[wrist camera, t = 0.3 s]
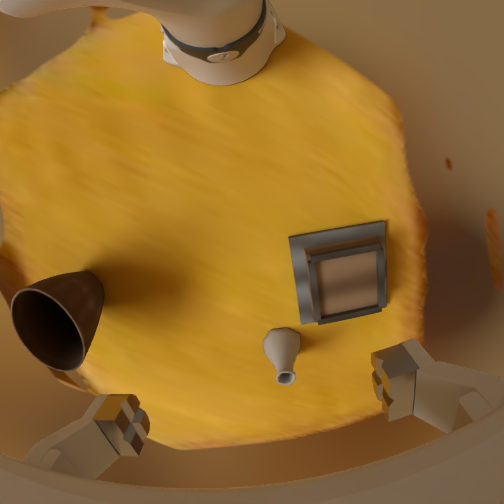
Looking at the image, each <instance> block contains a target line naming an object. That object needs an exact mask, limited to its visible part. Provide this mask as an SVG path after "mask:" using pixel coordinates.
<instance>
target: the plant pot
mask: <svg viewBox="0 0 504 504" xmlns="http://www.w3.org/2000/svg"><path fill="white" fill-rule="evenodd" d="M103 301H104V289H103V286H102V284H101V282H100V281H99V280H98V278H97V277H95V276H94V275H93V274H91V273H88V272H72V273H66V274H61V275H57V276H53V277H50V278H47V279H44V280H41V281H39V282H36V283H34V284H32V285H30V286H28V287H26V288H24V289H22V290H20V291H18V292H17V293H16V294H15V296H14V298H13V300H12V303H11V317H12V322H13V326H14V328H15V331H16V333H17V335H18V337H19V339H20V340H21V342H22V343H23V345H24V346H25V347H26V349H27V350H28V351H29V352H30V353H31V354H32V355H33V356H34V357H35V358H36V359H38V360H39V361H40V362H42V363H43V364H45V365H46V366H48V367H50V368H53V369H55V370H59V371H73V370H75V369H77V368H78V367H80V366H81V364H82V363H83V360H84V358H85V356H86V354H87V352H88V349H89V347H90V345H91V342H92V340H93V337H94V335H95V332H96V329H97V326H98V323H99V319H100V316H101V312H102V307H103Z"/></svg>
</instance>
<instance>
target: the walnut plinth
mask: <svg viewBox="0 0 504 504" xmlns="http://www.w3.org/2000/svg"><path fill="white" fill-rule="evenodd" d="M288 238H289V244H290V251H291V257H292V263H293V270H294V277H295V284H296V290H297V297H298V305H299V312H300V319H301V324H302V325H303V324H308V323H314V322H318V325H322V324H327V323H332V322H337V321H342V320H346V319H351V318H356V317H360V316H365V315H369V314H374V313H378V312H382V308H385V307H387V261H386V234H385V222H384V221H383V220H382V221H376V222H370V223H364V224H358V225H352V226H346V227H341V228H335V229H329V230H323V231H317V232H312V233H306V234H300V235H294V236H289V237H288Z"/></svg>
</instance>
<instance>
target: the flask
mask: <svg viewBox="0 0 504 504" xmlns="http://www.w3.org/2000/svg"><path fill="white" fill-rule="evenodd" d="M263 346H264V353H265V354H266V356H267V357H268V358H269V359H270V361H271V362H272V364H273V365H274V366H275V368H276V371H277V373H278V374H277V375H276V380H277V383H279V384H281V385H291V384H292V383H293V382H294V381H295V380H296V378H295V372H293V365H294V362H295V359H296V357H297V354H298V352H299V349H300V347H301V344H300V334H299V333H297V332H295V331H293V330H290V329H288V328H281V329H272V330H270V332H269V333H268V334H267V336H266V337H265V338H264V340H263Z"/></svg>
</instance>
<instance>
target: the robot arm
mask: <svg viewBox="0 0 504 504" xmlns="http://www.w3.org/2000/svg"><path fill="white" fill-rule="evenodd" d="M78 6H79V7H80V6H108V7H117V8H125V9H131V10H135V11H140V12H143V13H147V14H150V15H152V16H153V17H155V18H156V19H157V20H158V21H159V22H160V23H161V32H162V33H164V41H163V45H164V46H163V58H164V60H165V62H166V63H168V64H171V65H174V66H177V67H181V68H182V69H184V70H185V71H186V72H187V73H188V74H190V75H191V76H192V77H194V78H195V79H197V80H199V81H201V82H204V83H207V84H212V85H231V84H235V83H239V82H242V81H244V80H246V79H248V78H250V77H252V76H253V75H255V74H256V73H257V72H258V71H259V70H260V69H261V68H262V67H263V66H264V65H265V63H266V62H267V60H268V58H269V56H270V54H271V52H272V50H273V49H274V48H275V47H276V46H277V45H279V44H280V43H281V42H282V41H283V40H284V39H285V37H286V32H285V30H284V28H283V26H282V24H281V22H280V20H279V18H278V16H277V14H276V13H275V11H274V9H273V7H272V5H271V3H270V1H269V0H0V11H1V12H3V13H5V14H8V15H12V16H15V17H21V18H29V17H34V16H37V15H40V14H43V13H47V12H51V11H54V10H59V9H64V8H71V7H78ZM276 27H277V28H278V29H276ZM371 364H372V366H373V368H374V371H373V373H372V382H373V387H374V391H375V394H376V396H377V399H378V400H379V401H382V409H383V411H384V414H385V415H386V418H387V420H388V422H389V421H392V420H395V419H399V418H402V417H405V416H408V415H411V414H413V415H415V416H416V417H418V418H420V419H422V420H424V421H425V422H427V423H429V424H431V425H433V426H435V427H437V428H438V429H440V430H442V431H444V432H446V433H448V434H447V435H444V436H442V437H440V438H438V439H436V440H433V441H431V442H429V443H427V444H424V445H421V446H419V447H416V448H414V449H411V450H408V451H406V452H403V453H400V454H397V455H395V456H392V457H389V458H386V459H383V460H379V461H376V462H373V463H370V464H367V465H363V466H360V467H356V468H352V469H348V470H344V471H341V472H336V473H332V474H327V475H323V476H318V477H313V478H308V479H302V480H296V481H290V482H283V483H276V484H268V485H259V486H248V487H235V488H214V489H179V488H176V489H175V488H158V487H145V486H135V485H126V484H118V483H111V482H105V481H99V480H94V479H95V478H96V477H98V476H99V475H100V474H101V473H102V472H103V471H104V470H105V469H107V468H108V467H109V466H110V465H111V464H112V463H113V462H114V461H115V460H117V459H118V458H119V456H139V455H140V452H141V450H142V448H143V445H144V443H143V440H142V439H143V438H145V437H146V436H147V435H148V433H149V430H150V422H149V418H148V416H147V414H146V412H145V411H144V410H142V409H141V408H139V406H140V402H139V400H138V398H137V397H136V396H135V395H133V394H111V395H110V394H101V395H98V396H97V397H96V399H95V400H94V402H93V403H92V404H91V406H90V407H89V409H88V410H87V411H86V413H85V414H84V416H83V417H82V419H81V420H79V419H78V420H76V421H74V422H73V423H71V424H70V425H68V426H66V427H64V428H63V429H61V430H59V431H57V432H56V433H54V434H52V435H50V436H48V437H47V438H45V439H43V440H41V441H40V442H38V443H36V444H35V445H34V446H33V447H32V449H31V450H30V451H29V453H28V454H27V456H26V457H25V458H24V460H23V461H20V460H17V459H14V458H11V457H8V456H6V455H3V454H1V453H0V504H504V381H503V379H502V378H501V377H500V376H497V375H493V374H488V373H484V372H480V371H476V370H472V369H468V368H464V367H460V366H456V365H452V364H448V363H444V362H441V361H439V362H435V361H434V360H433V359H432V358H431V357H430V355H429V354H428V353H427V352H426V351H425V350H424V349H423V347H422V346H421V345H420V344H419V343H418V342H417V341H416V339H410V340H407V341H405V342H402V343H400V344H398V345H395V346H392V347H389V348H386V349H382V350H379V351H376V352H373V353H371Z"/></svg>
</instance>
